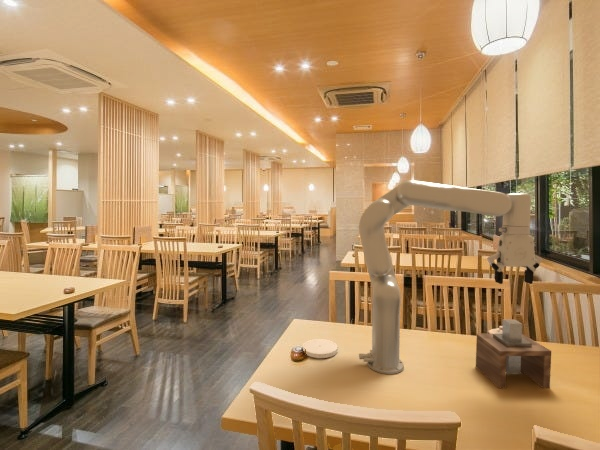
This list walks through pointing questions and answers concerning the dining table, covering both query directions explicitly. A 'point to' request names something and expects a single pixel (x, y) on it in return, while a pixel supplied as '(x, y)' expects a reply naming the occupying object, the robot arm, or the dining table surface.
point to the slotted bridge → (495, 353)
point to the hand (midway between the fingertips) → (513, 282)
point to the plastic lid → (320, 348)
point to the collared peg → (512, 343)
